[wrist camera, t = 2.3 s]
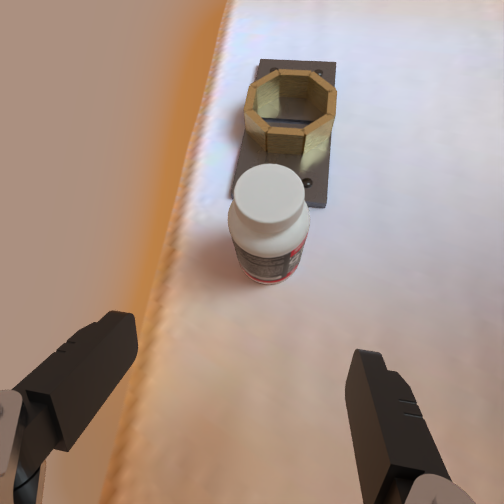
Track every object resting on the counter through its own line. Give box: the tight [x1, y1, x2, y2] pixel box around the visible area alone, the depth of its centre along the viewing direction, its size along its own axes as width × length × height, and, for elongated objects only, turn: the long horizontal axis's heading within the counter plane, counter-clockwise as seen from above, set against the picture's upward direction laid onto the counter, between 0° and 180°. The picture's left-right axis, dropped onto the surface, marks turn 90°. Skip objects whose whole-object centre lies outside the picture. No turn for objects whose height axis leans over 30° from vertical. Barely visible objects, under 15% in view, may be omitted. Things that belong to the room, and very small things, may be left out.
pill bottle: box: [228, 164, 310, 284], centre depth 20 cm, size 5×5×10 cm
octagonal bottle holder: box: [231, 59, 337, 208], centre depth 28 cm, size 19×9×3 cm, turn 171°
